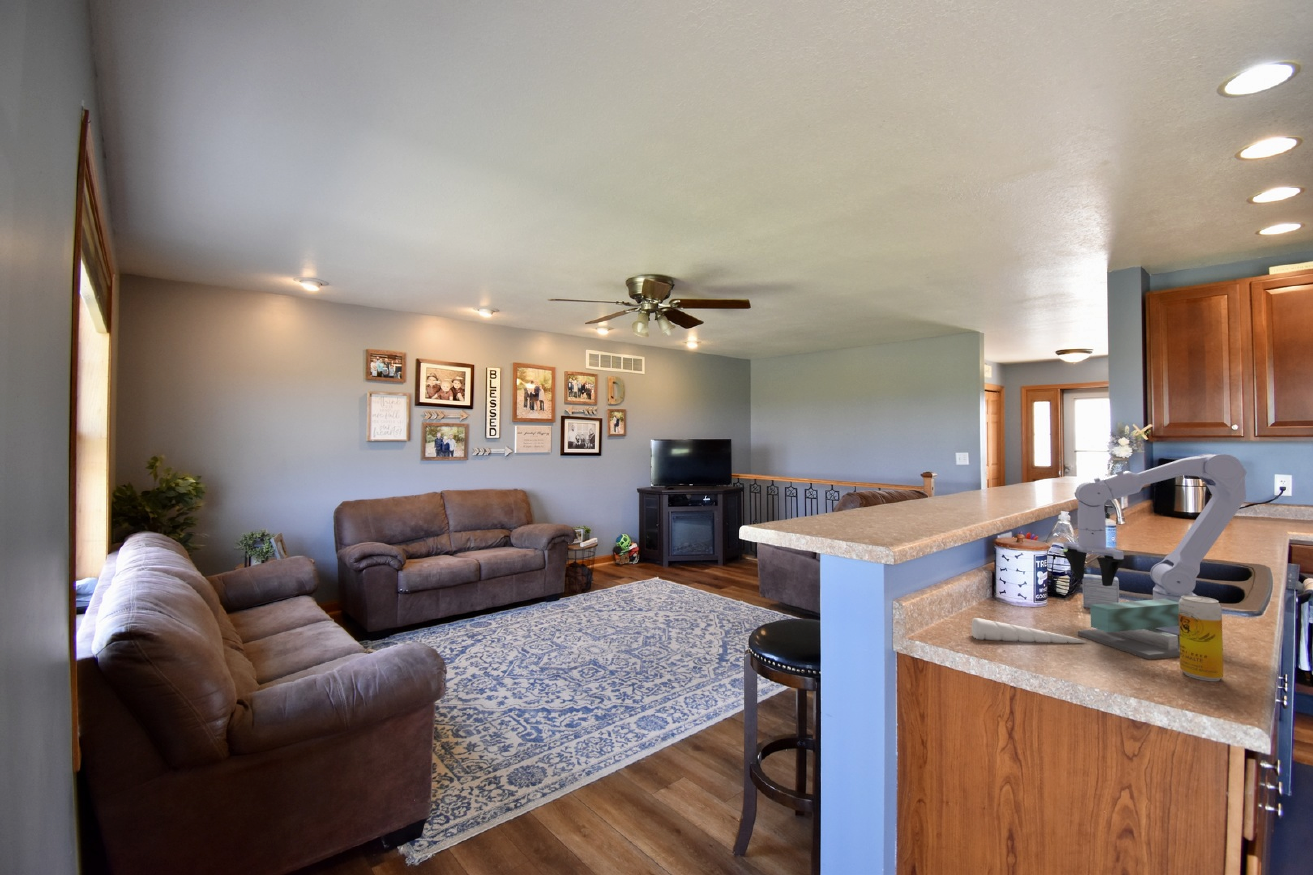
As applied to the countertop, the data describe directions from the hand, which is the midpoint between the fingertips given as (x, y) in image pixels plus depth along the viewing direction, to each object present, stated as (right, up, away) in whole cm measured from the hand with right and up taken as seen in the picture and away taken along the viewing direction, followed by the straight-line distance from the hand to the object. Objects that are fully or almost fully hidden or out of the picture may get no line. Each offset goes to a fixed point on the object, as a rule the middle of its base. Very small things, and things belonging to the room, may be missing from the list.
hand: (1092, 582), depth 145 cm
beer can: (-6, -10, -35) cm, 37 cm away
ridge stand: (-3, -10, -17) cm, 20 cm away
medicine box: (+11, -10, +11) cm, 19 cm away
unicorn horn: (-27, -10, -14) cm, 32 cm away
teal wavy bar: (-3, -6, -17) cm, 18 cm away
